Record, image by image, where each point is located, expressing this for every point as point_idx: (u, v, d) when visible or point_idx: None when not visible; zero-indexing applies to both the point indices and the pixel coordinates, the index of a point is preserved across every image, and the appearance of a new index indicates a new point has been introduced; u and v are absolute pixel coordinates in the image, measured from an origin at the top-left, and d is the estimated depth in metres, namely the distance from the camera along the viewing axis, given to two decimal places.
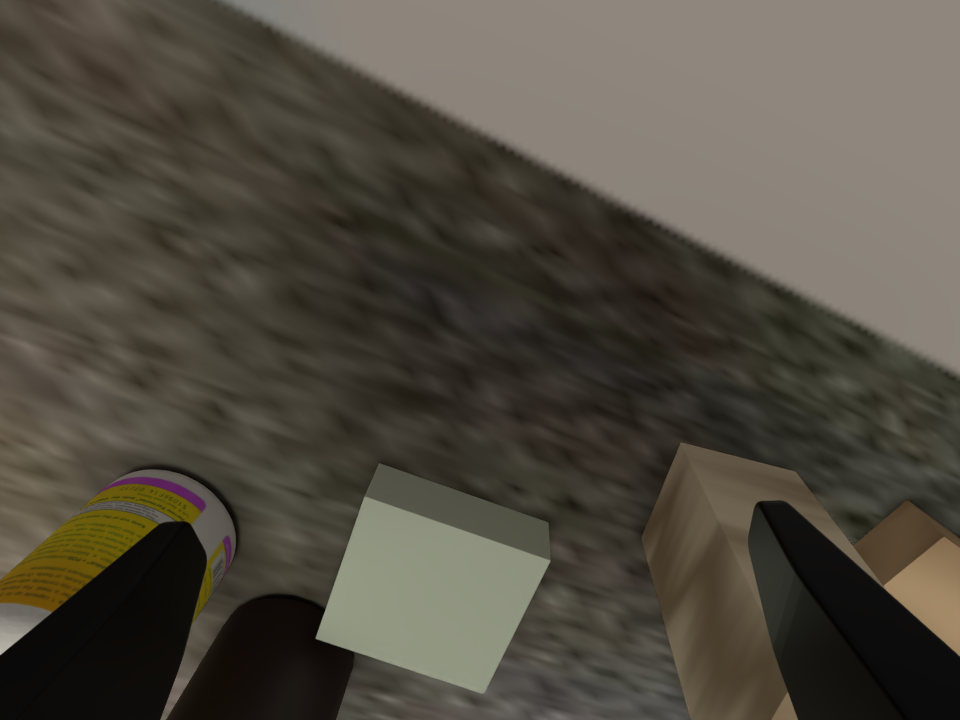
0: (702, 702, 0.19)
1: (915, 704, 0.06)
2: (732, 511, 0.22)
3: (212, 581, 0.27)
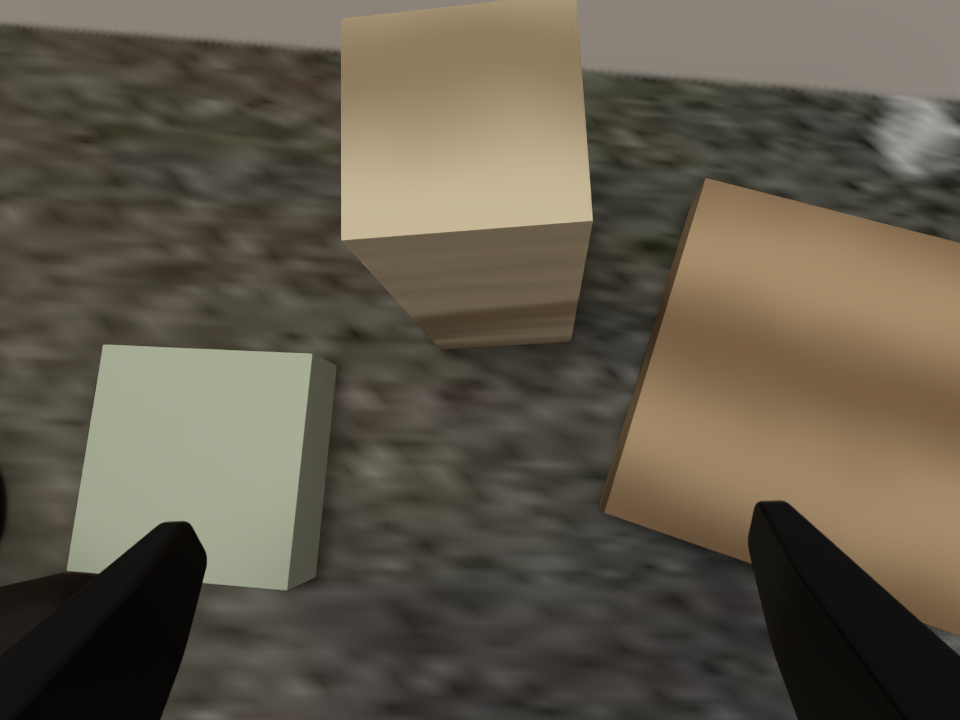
0: None
1: (915, 704, 0.06)
2: None
3: None
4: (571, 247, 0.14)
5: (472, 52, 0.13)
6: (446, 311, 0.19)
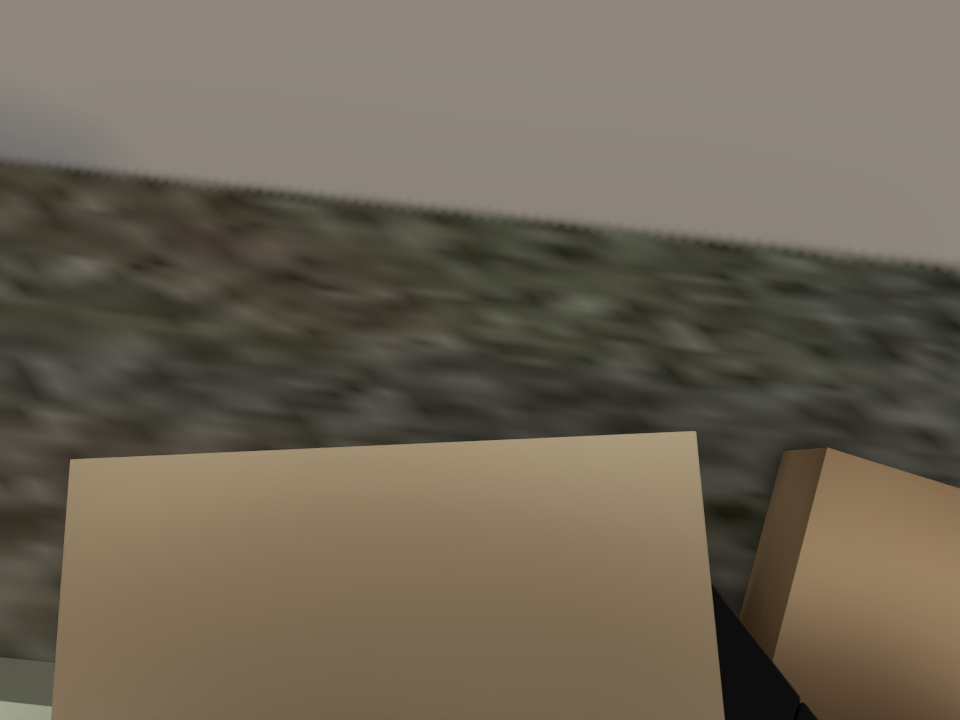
0: None
1: None
2: None
3: None
4: None
5: (408, 597, 0.05)
6: None
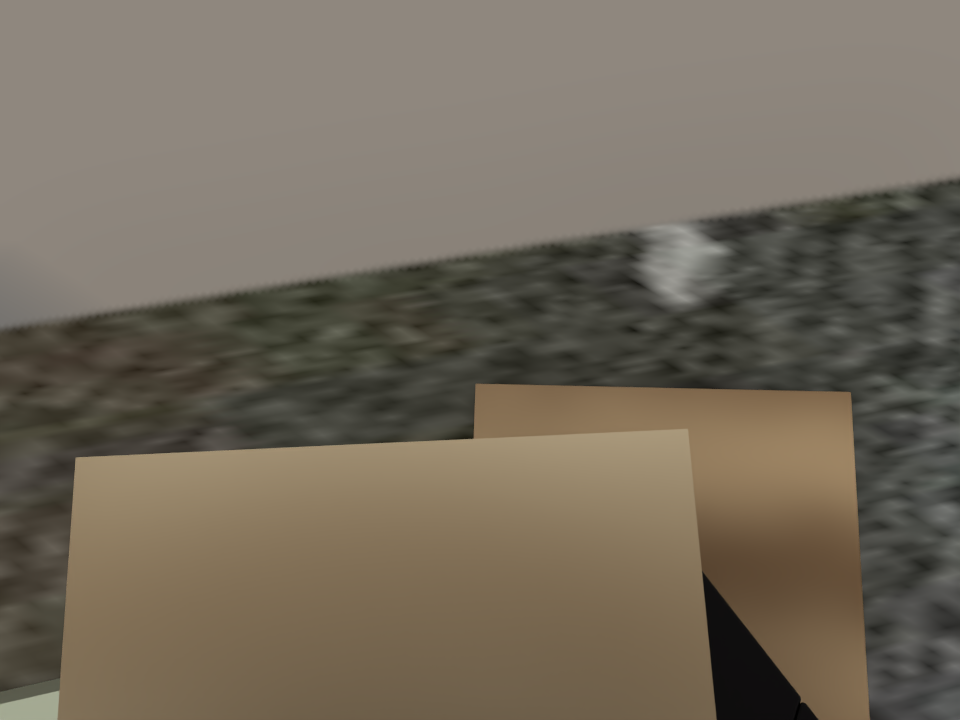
0: None
1: None
2: None
3: None
4: None
5: (407, 591, 0.05)
6: None
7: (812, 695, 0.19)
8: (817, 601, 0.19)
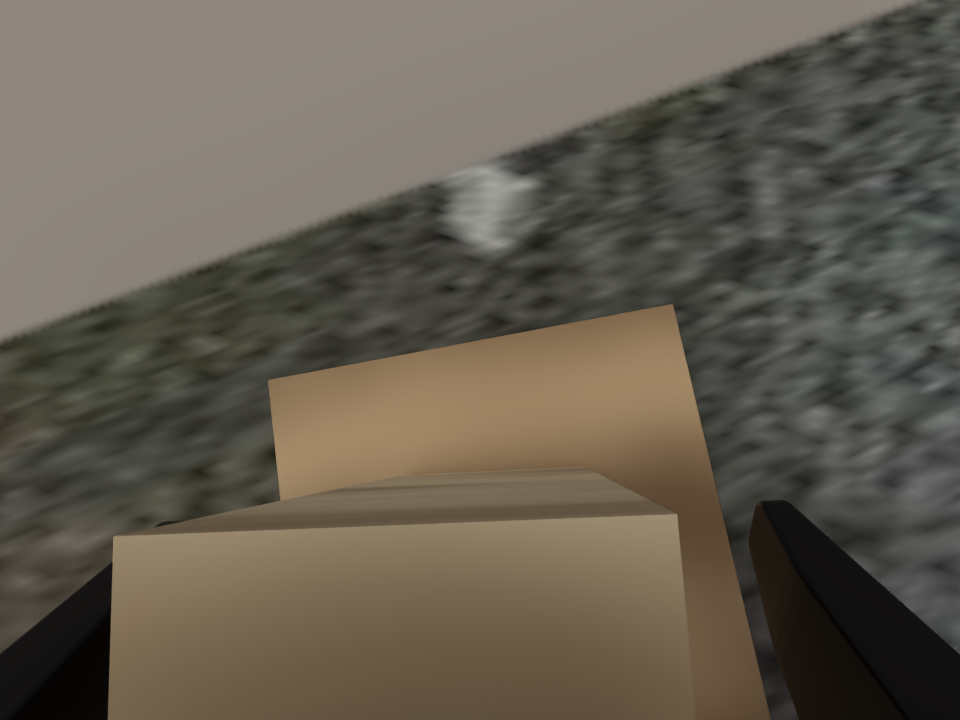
0: None
1: (917, 704, 0.06)
2: (388, 484, 0.13)
3: None
4: None
5: (422, 662, 0.05)
6: None
7: (691, 652, 0.16)
8: None
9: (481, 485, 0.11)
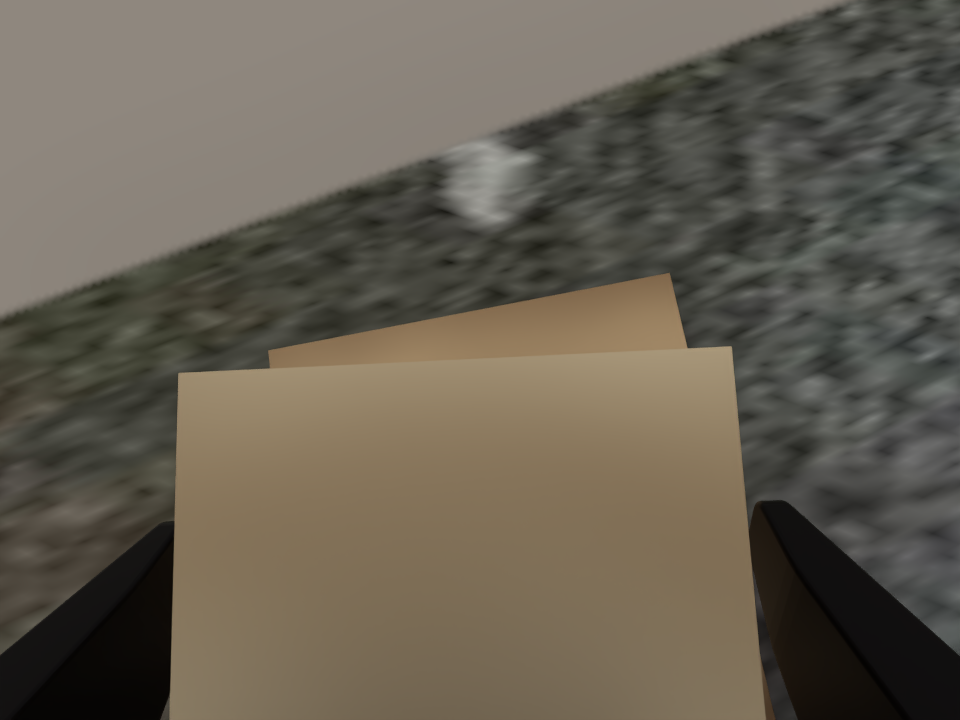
0: None
1: (915, 704, 0.06)
2: None
3: None
4: None
5: (484, 487, 0.05)
6: None
7: None
8: None
9: None
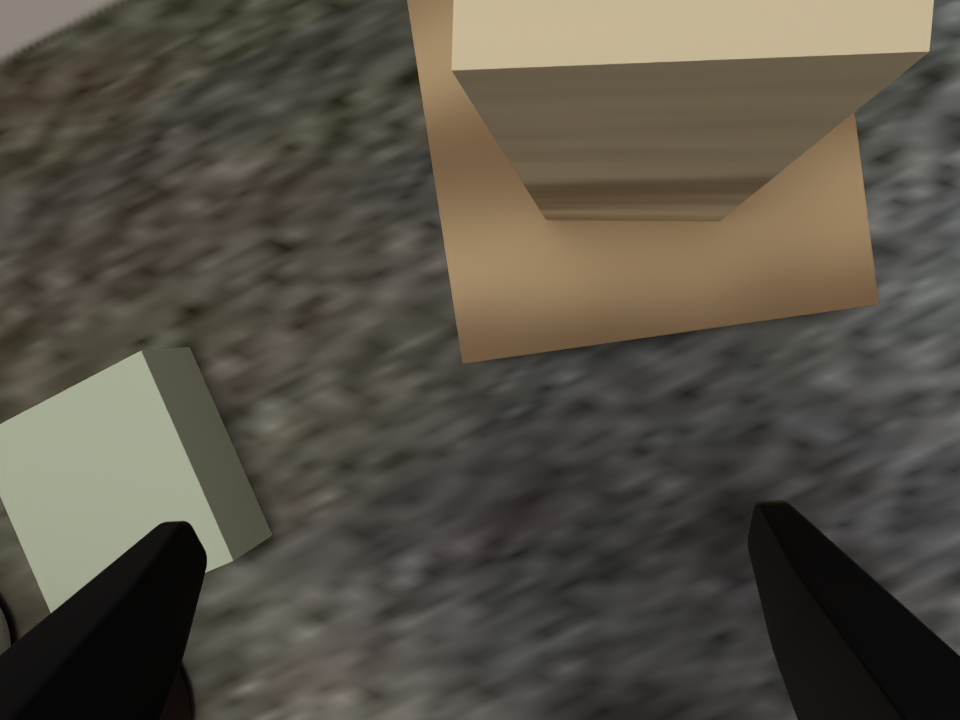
0: None
1: (915, 704, 0.06)
2: None
3: None
4: (837, 100, 0.08)
5: None
6: (574, 179, 0.13)
7: (804, 212, 0.18)
8: None
9: None
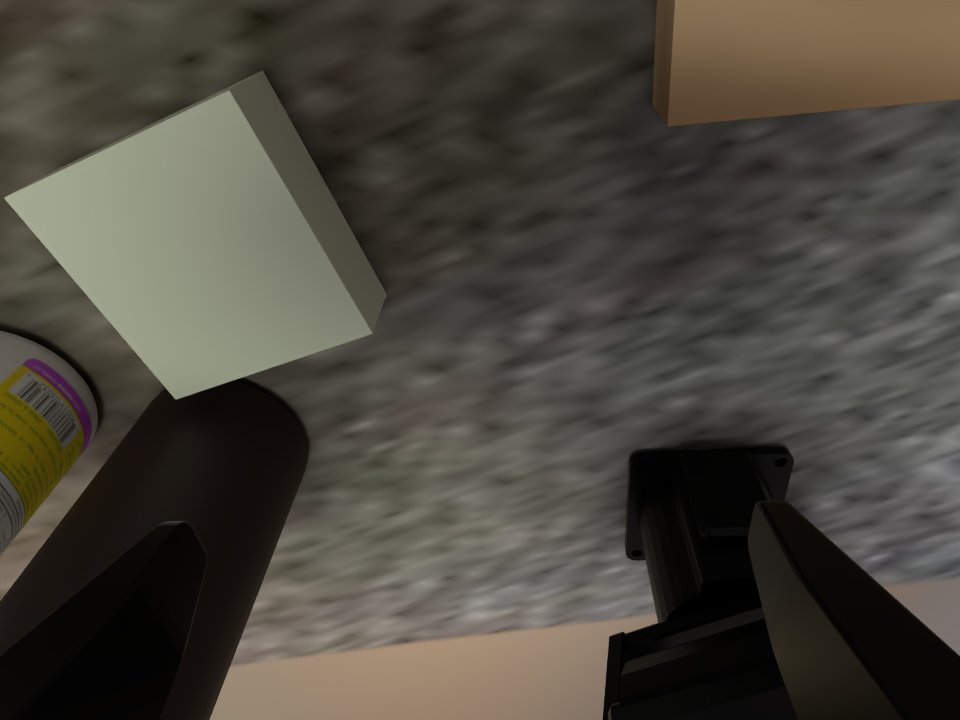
0: None
1: (915, 704, 0.06)
2: None
3: (27, 405, 0.23)
4: None
5: None
6: None
7: None
8: None
9: None
